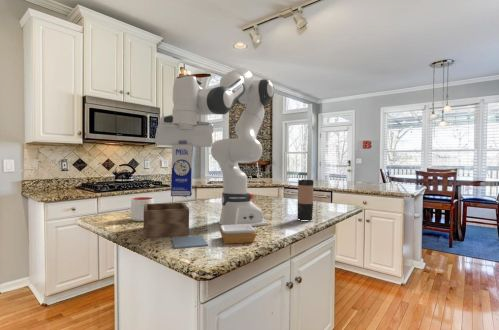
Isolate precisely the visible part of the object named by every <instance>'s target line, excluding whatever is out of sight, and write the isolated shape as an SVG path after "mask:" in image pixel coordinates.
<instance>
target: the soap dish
mask: <svg viewBox="0 0 499 330" xmlns="http://www.w3.org/2000/svg"><path fill="white" fill-rule="evenodd" d="M219 232H220V235H221V238H222V241H223V243H224V244H225V245H226V244H227V245H228V244H247V243H249V244H251V243H254V241H255V239H256V236H257V232H256V231H255V228H254V226H251V225H249V224H237V225H220V227H219Z"/></svg>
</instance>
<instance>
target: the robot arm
mask: <svg viewBox="0 0 499 330" xmlns="http://www.w3.org/2000/svg"><path fill="white" fill-rule="evenodd" d="M274 93H275V88H274V84H273V82H272V80H269V79H266V78H262V79H255V80H254V76H253V74H252V72H251V71H250V70H249V69H247V68H245V67H244V68H243V67H241V68H236V69H233V70H231V71H228V72H227V73H225V74H224V75H222V77H221V78H220V80H219V86H216V87H209V88H203V87H201V86H200V84H199V83H198V80H197V77H196V76H195V75H192V74H191V75H189V74H186V75H180V76H179V75H178V76H177V77H175V79H174V82H173V86H172V101H173V102H172V103H173V107H172V113H171V114H169V115H164V116H163V115H162V116H161V117H160V118H159V119H158V120H159V121H158V123H159V124H158V125H157V128H156V132H155V138H154V143H155V145H157V146H170V147H172V144H179V141H180V140H185V141H187V144H193V148H194V147H195V148H196V147H197V148H198V147H199V148H210V154H211V157H212V158H213V159H214V160H215V161H216V163H217V164H218V165H219V167H220V168H219V169H220V171H221V175H222V188H223V190H222V193H221V205H222V207H221V214H220V217H219V222H218V224H220V226H222V225H237V224H249V225H251V226H252V227H257V226H258V227H259V226H267V225H269V224H268V223H269V222H268V220H267V219H266V218H264V213H263V211H262V209H261V208H260V206H258V205H257V204H255V203H254V202H253V201H252V200H253V199H255V195H254V194H252V193H249V192H248V175H247V174H246V173H245V172H243V171H242V170H241V169H240V167H239V163H243V164H245V163H246V164H250V163H254V162H258V161H259V160H260V159H261V157H262V155H263V146H262V143H261V142H260V141H259V140H258V139H257V137H258V133H259V131H260V128H261V126H262V125H263V122H264V119H265V118H264V117H265V113H266V111H265V108H264V107H265V106H267V105H269V104H270V101H271V100H272V99H273V97H274ZM234 104H237V105H241V106H242V105H246V107H245V109H244V110H243V112H242V113H241V115H240V117H239V119H238V120H237V122H236V124H235V127H234V131H235V134H236V136H237V137H236V138H222V139H218V140H215V141H214V139H213V133H214V126H213V124H212V123H210V122H209V121H205V122H204V121H199V120H198V116H210V115H227V114H228V113H229V112H230V110H231V109H232V107H233V105H234ZM213 141H214V142H213Z"/></svg>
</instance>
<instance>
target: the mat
mask: <svg viewBox="0 0 499 330" xmlns="http://www.w3.org/2000/svg"><path fill="white" fill-rule="evenodd" d="M171 241H172V244H173V247H174V249H183V248H186V249H187V248H197V247H199V248H200V247H208V246H209V243H208V242H207V241H206V239H205V238H204V237H203V235H197V236H183V237H182V236H181V237H180V236H177V237H171Z"/></svg>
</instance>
